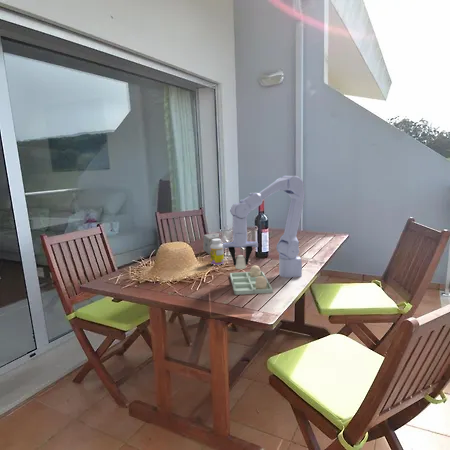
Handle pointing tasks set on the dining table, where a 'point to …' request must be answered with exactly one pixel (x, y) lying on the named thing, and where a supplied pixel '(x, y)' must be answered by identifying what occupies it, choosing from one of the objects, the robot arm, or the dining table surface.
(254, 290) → the egg tray
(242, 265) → the cream egg
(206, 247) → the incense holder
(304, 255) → the dining table surface
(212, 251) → the supplement bottle
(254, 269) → the tan egg
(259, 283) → the tan egg
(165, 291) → the dining table surface
